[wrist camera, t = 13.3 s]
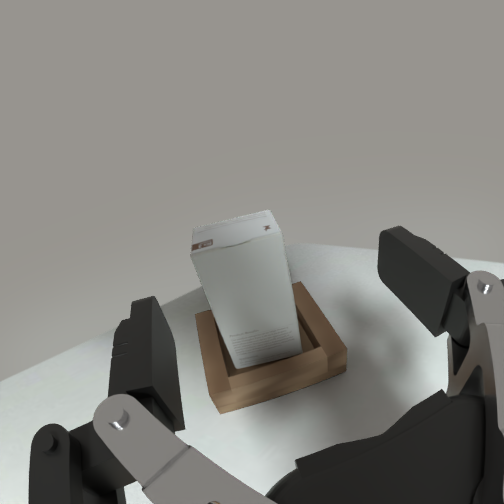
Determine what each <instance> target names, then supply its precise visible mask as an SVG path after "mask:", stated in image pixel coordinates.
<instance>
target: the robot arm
mask: <svg viewBox="0 0 504 504" xmlns="http://www.w3.org/2000/svg"><path fill="white" fill-rule="evenodd" d="M377 268H378V274H379V277H380V279H381V281H382V282H383V283H384V284H385V285H386V286H387V287H388V288H389V289H390V290H391V291H392V292H393V293H394V294H395V295H396V296H397V297H398V298H399V299H400V300H401V301H402V302H403V304H404V305H405V306H406V307H407V308H408V309H409V310H410V311H411V312H412V313H413V314H414V315H415V316H416V317H417V318H418V319H419V320H420V321H421V322H422V324H423V325H424V326H425V327H426V328H427V329H428V330H429V331H430V332H431V333H432V334H433V335H434V337H437V336H439V335H440V334H442V333H444V332H446V331H447V332H448V333H449V336H448V339H447V349H448V388H447V392H446V394H445V392H444V391H443V390H442V389H441V390H440V391H438V392H437V393H435V394H433V395H432V396H430V397H429V398H427V399H425V400H424V401H422V402H420V403H419V404H417V405H415V406H413V407H412V408H411V409H410V410H409V411H408V412H407V413H406V414H405V415H404V416H402V417H401V418H400V419H399V420H398V421H397V422H396V423H395V424H394V425H393V426H392V427H390V428H389V429H388V430H387V431H386V432H385V433H383V434H381V435H379V436H375V437H371V438H366V439H361V440H357V441H352V442H346V443H341V444H336V445H334V446H331V447H329V448H326V449H324V450H321V451H318V452H316V453H313V454H310V455H307V456H305V457H302V458H299V459H296V460H295V464H296V469H295V470H293V471H292V472H290V473H288V474H287V475H286V476H284V477H283V478H282V479H280V480H279V481H278V482H277V483H276V484H275V485H274V486H273V487H272V488H271V489H270V490H269V492H268V493H267V494H266V495H265V496H263V495H262V494H260V493H258V492H257V491H255V490H254V489H252V488H250V487H249V486H247V485H246V484H244V483H243V482H241V481H240V480H238V479H237V478H235V477H234V476H232V475H231V474H229V473H228V472H226V471H225V470H224V469H222V468H221V467H219V466H218V465H217V464H215V463H214V462H212V461H211V460H210V459H208V458H207V457H206V456H204V455H203V454H202V453H200V452H199V451H198V450H196V449H195V448H194V447H192V446H190V445H189V446H188V445H187V444H185V443H184V442H183V441H182V440H181V439H179V438H178V437H177V436H176V435H175V431H180V430H185V424H184V417H183V410H182V402H181V394H180V386H179V377H178V368H177V358H176V348H175V342H174V338H173V335H172V332H171V330H170V327H169V325H168V323H167V321H166V319H165V317H164V314H163V312H162V310H161V308H160V306H159V303H158V301H157V300H156V298H155V296H151V297H148V298H144V299H140V300H136V301H133V302H132V305H131V314H130V318H129V319H125V320H122V321H121V323H120V324H119V326H118V328H117V329H116V331H115V334H114V341H113V347H114V348H113V349H112V358H111V368H110V378H109V390H108V398H107V399H105V400H104V401H103V402H101V403H100V405H99V406H98V407H97V409H96V411H95V413H94V417H93V420H92V421H91V422H89V423H87V424H85V425H82V426H80V427H78V428H76V429H73V430H71V431H69V432H68V431H67V430H66V429H65V428H64V427H62V426H61V425H58V424H48V425H45V426H43V427H42V428H41V429H39V430H38V432H37V433H36V434H35V436H34V438H33V440H32V444H31V454H30V468H29V504H126V499H125V492H124V486H126V485H128V484H131V483H133V482H135V481H138V482H139V483H140V484H141V486H142V487H143V488H142V491H143V492H144V494H145V495H146V496H147V497H148V498H149V499H150V501H151V502H152V503H154V504H504V279H502V280H500V279H499V278H498V277H496V276H495V275H493V274H491V273H489V272H486V271H474V272H472V273H470V272H469V271H467V270H466V269H465V268H464V267H462V266H461V265H460V264H458V263H457V262H456V261H454V260H453V259H452V258H450V257H449V256H448V255H446V254H444V253H443V252H442V251H441V250H440V249H438V248H436V246H434V245H433V244H431V243H430V242H429V241H427V240H426V239H423V238H420V237H417V236H415V235H413V234H412V233H410V232H409V231H408V230H406V229H405V228H403V227H402V226H397V227H393V228H390V229H387V230H384V231H382V232H381V233H380V236H379V251H378V267H377Z"/></svg>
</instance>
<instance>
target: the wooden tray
mask: <svg viewBox="0 0 504 504" xmlns="http://www.w3.org/2000/svg"><path fill="white" fill-rule="evenodd" d="M292 289H293V295H294V301H295V307H296V313H297V320H298V326H299V333H300V340H301V346H302V351H303V352H302V354H298V355H295V356H291V357H287V358H283V359H279V360H275V361H270V362H266V363H262V364H258V365H253V366H249V367H244V368H240V369H236V368H235V366H234V363H233V361H232V358H231V356H230V354H229V351H228V349H227V347H226V344H225V342H224V339H223V337H222V335H221V332H220V330H219V327H218V325H217V322H216V320H215V317H214V315H213V312H212V310H208V311H204V312H201V313H197V314H195V317H196V324H197V330H198V336H199V342H200V348H201V354H202V359H203V365H204V370H205V376H206V381H207V386H208V391H209V396H210V397H211V399H212V401H213V403H214V404H215V406H216V408H217V410H218V411H219V413H220V414H223V413H226V412H230V411H234V410H237V409H241V408H244V407H248V406H251V405H254V404H258V403H261V402H264V401H267V400H270V399H273V398H276V397H279V396H282V395H285V394H288V393H291V392H294V391H296V390H299V389H302V388H305V387H307V386H310V385H313V384H315V383H318V382H320V381H323V380H325V379H328V378H330V377H333V376H335V375H338V374H340V373H343V372H345V371H346V363H347V348H346V346H345V345H344V343H343V342H342V340H341V339H340V337H339V336H338V335H337V333H336V332H335V330H334V329H333V327H332V326H331V324H330V323H329V321H328V320H327V318H326V317H325V316H324V314H323V313H322V311H321V310H320V308H319V307H318V305H317V304H316V302H315V301H314V300H313V298H312V297H311V295H310V294H309V292H308V291H307V289H306V288H305V287H304V285H303V284H302V282H301V281H300V282H297V283H294V284H292Z"/></svg>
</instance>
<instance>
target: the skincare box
mask: <svg viewBox="0 0 504 504" xmlns="http://www.w3.org/2000/svg"><path fill="white" fill-rule="evenodd" d="M191 259H192V261H193V264H194V267H195V269H196V272H197V274H198V277H199V279H200V282H201V284H202V287H203V290H204V292H205V295H206V297H207V300H208V302H209V305H210V307H211V310H212V312H213V315H214V317H215V320H216V322H217V325H218V327H219V330H220V332H221V335H222V337H223V339H224V342H225V344H226V347H227V349H228V351H229V354H230V356H231V358H232V361H233V363H234V366H235V368H236V369H240V368H244V367H249V366H253V365H258V364H262V363H266V362H270V361H275V360H279V359H283V358H287V357H291V356H295V355H298V354H302V352H303V351H302V346H301V340H300V333H299V326H298V320H297V313H296V307H295V301H294V295H293V289H292V283H291V277H290V271H289V266H288V261H287V257H286V252H285V245H284V239H283V233H282V232H281V230H280V228H279V226H278V224H277V222H276V220H275V218H274V216H273V214H272V212H271V211H270V210H265V211H261V212H257V213H253V214H248V215H244V216H240V217H236V218H232V219H228V220H224V221H220V222H217V223H212V224H208V225H204V226H200V227H195V228H194V229H193V236H192V247H191Z"/></svg>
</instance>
